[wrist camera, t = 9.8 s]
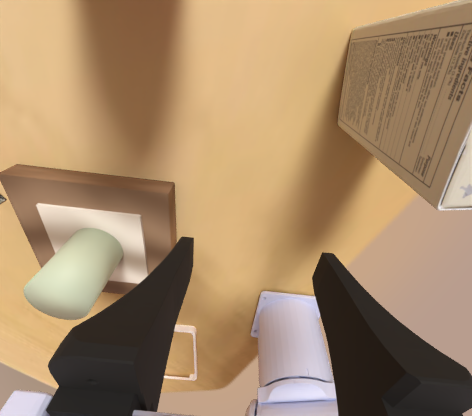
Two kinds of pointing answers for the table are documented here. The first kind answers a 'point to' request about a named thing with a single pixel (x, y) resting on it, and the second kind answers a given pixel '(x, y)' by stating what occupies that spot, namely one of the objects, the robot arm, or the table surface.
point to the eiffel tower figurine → (2, 199)
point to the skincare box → (415, 99)
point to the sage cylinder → (75, 275)
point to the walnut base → (95, 215)
